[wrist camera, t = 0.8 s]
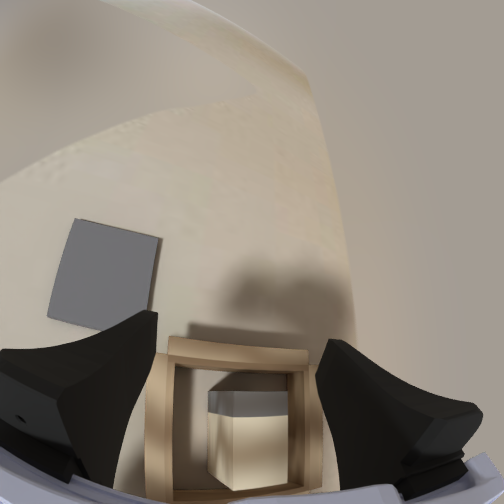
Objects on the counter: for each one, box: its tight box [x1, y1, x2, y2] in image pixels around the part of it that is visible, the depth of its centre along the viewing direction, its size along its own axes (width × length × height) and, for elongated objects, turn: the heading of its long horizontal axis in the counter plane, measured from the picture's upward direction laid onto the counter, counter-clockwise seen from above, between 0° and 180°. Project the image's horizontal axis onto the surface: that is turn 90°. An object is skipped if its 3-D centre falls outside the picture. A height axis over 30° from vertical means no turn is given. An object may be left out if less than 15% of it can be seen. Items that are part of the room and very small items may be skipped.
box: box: [207, 391, 288, 491], centre depth 20 cm, size 8×4×6 cm, turn 0°
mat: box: [47, 218, 158, 331], centre depth 23 cm, size 10×9×1 cm
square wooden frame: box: [144, 336, 323, 504], centre depth 21 cm, size 16×16×3 cm
